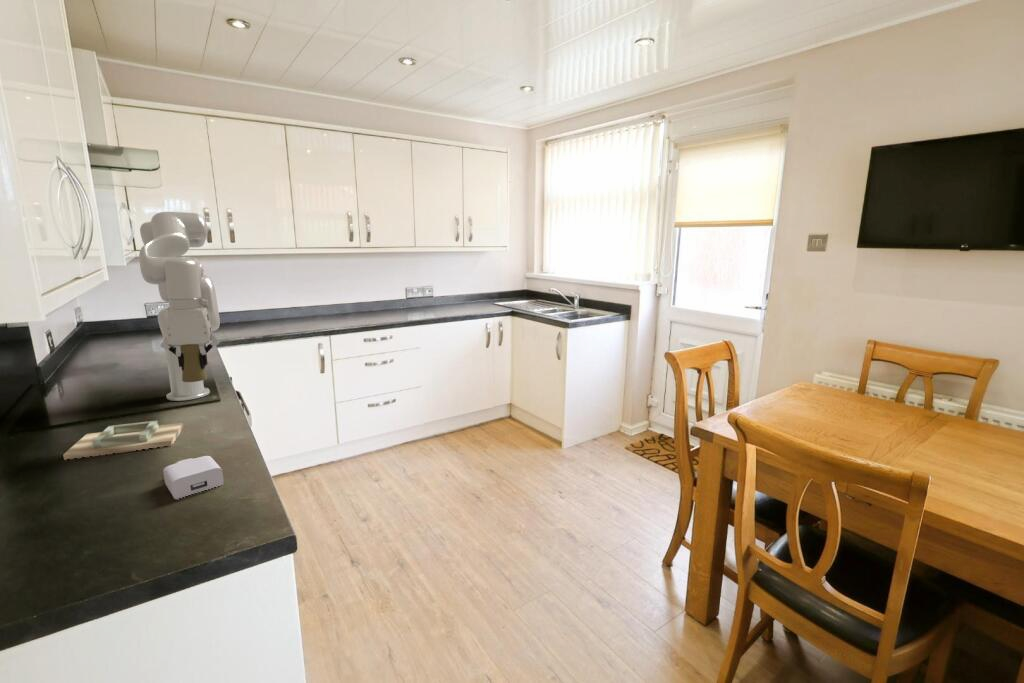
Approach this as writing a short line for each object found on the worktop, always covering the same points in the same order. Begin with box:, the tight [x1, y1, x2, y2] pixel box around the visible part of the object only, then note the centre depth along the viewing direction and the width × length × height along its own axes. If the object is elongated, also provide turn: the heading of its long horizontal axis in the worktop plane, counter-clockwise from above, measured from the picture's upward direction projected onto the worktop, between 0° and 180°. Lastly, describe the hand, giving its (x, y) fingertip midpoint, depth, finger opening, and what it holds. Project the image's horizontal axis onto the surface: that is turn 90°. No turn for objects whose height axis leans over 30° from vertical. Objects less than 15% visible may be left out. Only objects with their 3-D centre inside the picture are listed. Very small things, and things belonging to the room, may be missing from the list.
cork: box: [180, 344, 208, 382], centre depth 131 cm, size 6×6×11 cm
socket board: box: [62, 420, 185, 461], centre depth 125 cm, size 14×22×4 cm, turn 114°
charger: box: [162, 455, 225, 500], centre depth 105 cm, size 5×9×15 cm
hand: (193, 367), depth 132 cm, fingers closed on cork, 3 cm apart
